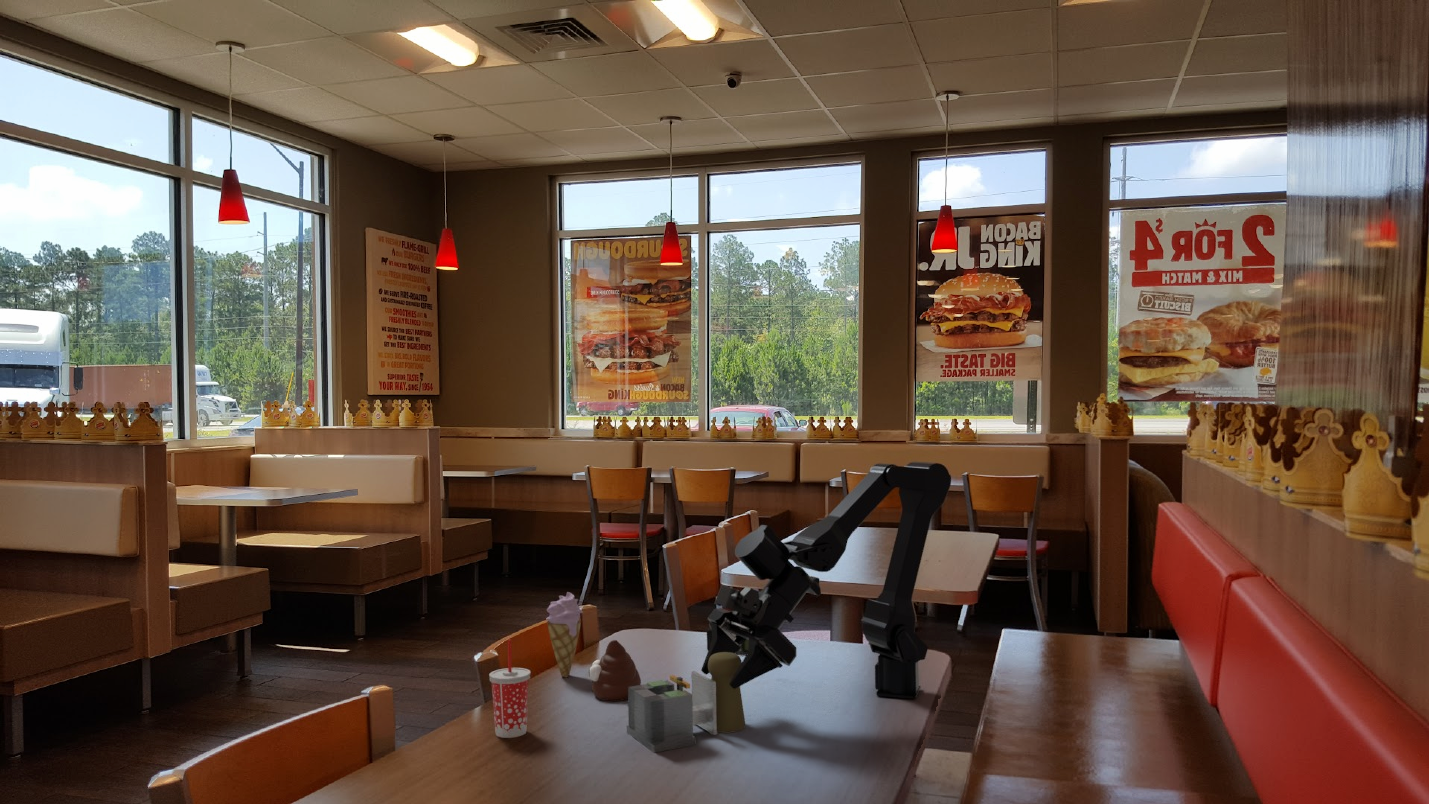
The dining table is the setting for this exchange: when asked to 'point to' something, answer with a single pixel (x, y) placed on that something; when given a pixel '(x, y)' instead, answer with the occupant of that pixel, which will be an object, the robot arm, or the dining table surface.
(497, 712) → the beverage cup
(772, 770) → the dining table surface
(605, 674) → the poop emoji
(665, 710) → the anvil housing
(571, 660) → the ice cream cone
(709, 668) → the cork
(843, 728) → the dining table surface
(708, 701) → the plunger
